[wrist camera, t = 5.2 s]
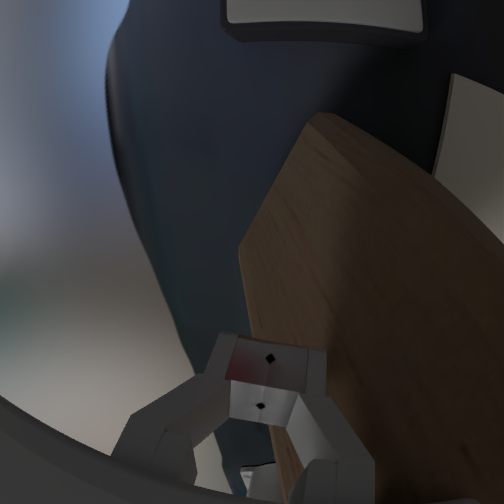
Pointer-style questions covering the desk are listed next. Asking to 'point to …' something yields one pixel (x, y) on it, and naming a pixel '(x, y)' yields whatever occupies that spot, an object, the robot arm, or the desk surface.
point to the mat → (474, 150)
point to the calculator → (328, 21)
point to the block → (385, 311)
